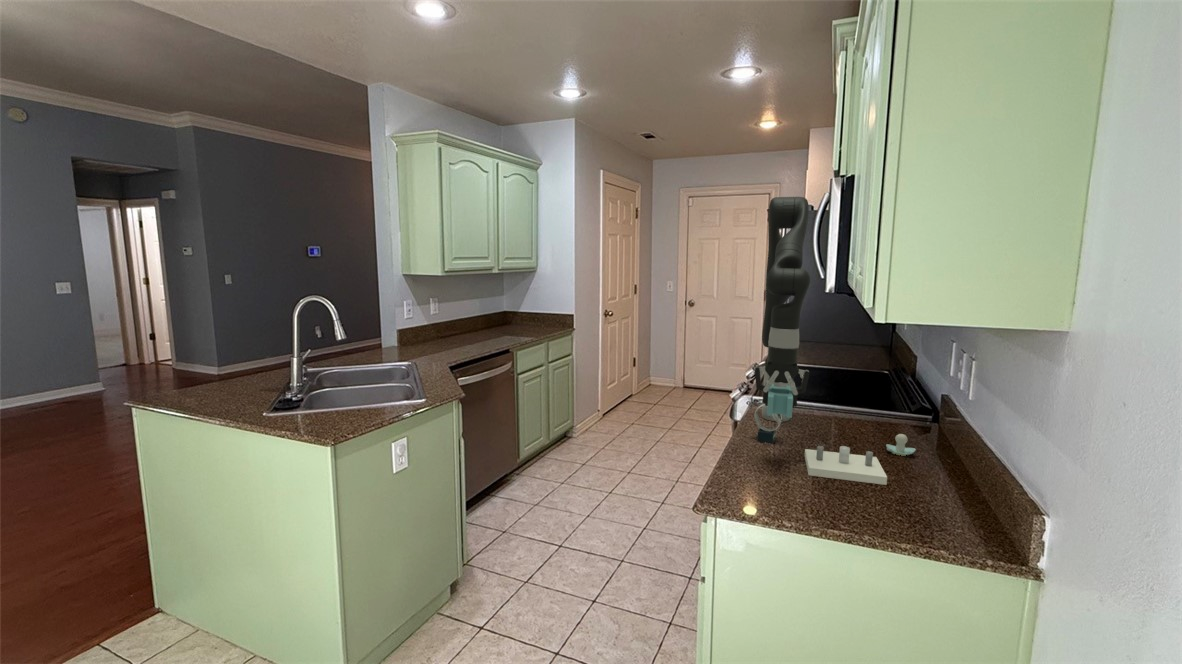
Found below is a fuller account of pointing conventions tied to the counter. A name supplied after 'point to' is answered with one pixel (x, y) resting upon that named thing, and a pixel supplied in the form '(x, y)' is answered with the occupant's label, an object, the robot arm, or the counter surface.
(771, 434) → the watch
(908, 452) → the pacifier
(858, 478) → the base plate
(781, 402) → the flange bar
